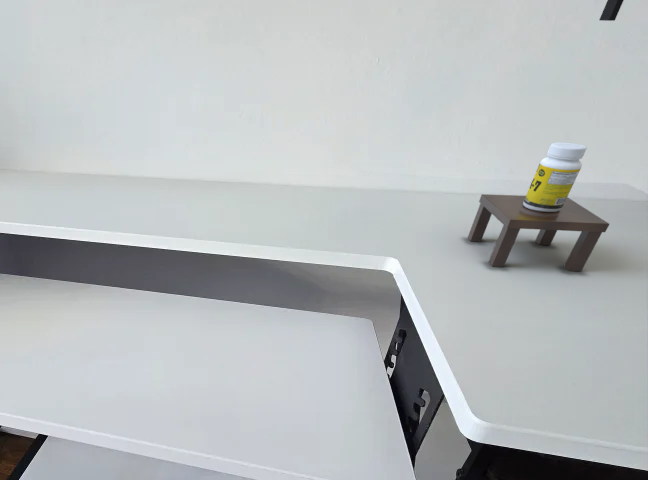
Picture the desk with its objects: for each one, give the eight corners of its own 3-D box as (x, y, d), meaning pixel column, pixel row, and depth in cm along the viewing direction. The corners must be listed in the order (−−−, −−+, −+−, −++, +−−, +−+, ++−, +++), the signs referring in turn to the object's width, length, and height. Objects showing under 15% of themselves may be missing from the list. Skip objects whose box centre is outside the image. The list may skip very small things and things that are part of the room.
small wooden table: (546, 241, 79) (567, 197, 75) (583, 272, 70) (609, 223, 66) (465, 237, 81) (481, 194, 77) (490, 267, 72) (510, 219, 68)
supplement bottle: (519, 201, 74) (545, 140, 69) (557, 204, 72) (586, 142, 67) (524, 210, 70) (551, 147, 65) (563, 214, 69) (594, 150, 64)
